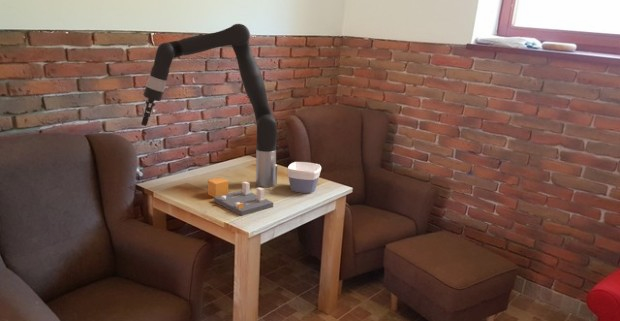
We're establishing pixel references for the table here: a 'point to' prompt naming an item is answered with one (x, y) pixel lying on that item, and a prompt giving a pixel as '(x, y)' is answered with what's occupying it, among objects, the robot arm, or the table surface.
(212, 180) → the orange block
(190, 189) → the table surface
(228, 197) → the breaker panel
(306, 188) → the bowl
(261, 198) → the block
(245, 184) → the untagged breaker
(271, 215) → the table surface
